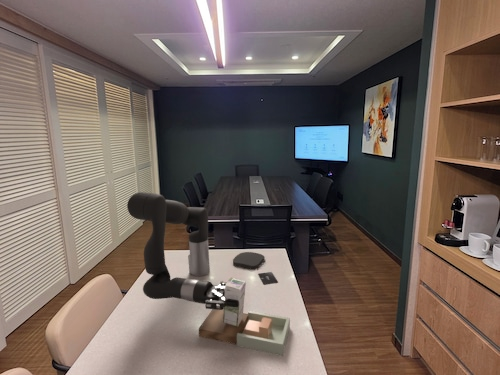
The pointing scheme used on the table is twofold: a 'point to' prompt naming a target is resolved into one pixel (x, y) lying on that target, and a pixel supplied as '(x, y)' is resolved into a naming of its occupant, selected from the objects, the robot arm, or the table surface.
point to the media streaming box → (248, 260)
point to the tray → (276, 338)
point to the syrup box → (235, 292)
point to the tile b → (265, 328)
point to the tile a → (252, 328)
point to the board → (221, 327)
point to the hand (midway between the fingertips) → (241, 298)
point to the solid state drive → (267, 278)
